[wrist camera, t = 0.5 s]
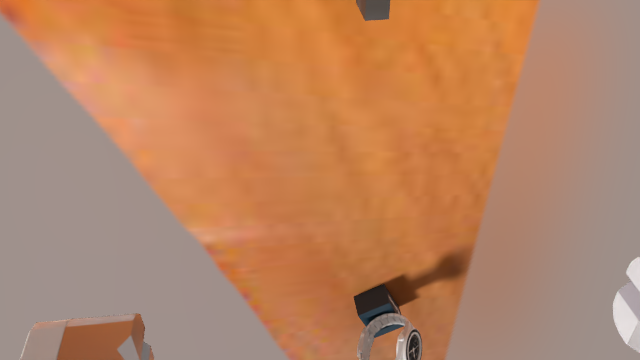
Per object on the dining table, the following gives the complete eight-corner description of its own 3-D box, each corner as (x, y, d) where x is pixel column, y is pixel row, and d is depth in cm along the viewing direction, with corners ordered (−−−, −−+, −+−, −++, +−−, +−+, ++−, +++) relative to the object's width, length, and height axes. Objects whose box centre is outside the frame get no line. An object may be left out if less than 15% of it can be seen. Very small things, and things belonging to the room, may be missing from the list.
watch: (412, 301, 77) (436, 373, 69) (358, 323, 79) (374, 396, 70) (397, 277, 74) (420, 349, 65) (341, 301, 75) (356, 375, 67)
